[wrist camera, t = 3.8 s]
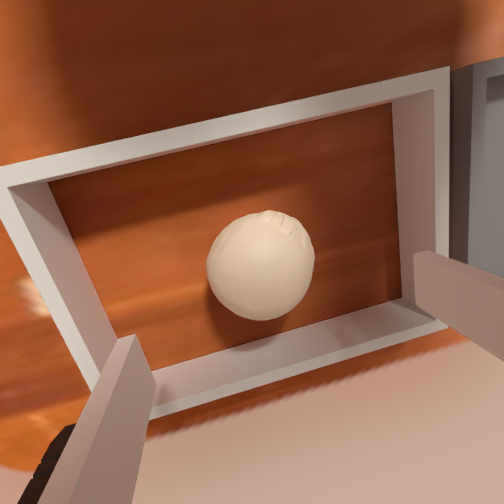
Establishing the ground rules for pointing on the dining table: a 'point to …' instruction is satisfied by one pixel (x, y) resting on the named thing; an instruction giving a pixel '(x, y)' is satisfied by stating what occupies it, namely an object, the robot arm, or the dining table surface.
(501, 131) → the slate tray
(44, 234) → the light grey rectangular frame
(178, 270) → the dining table surface
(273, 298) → the cream round ball
